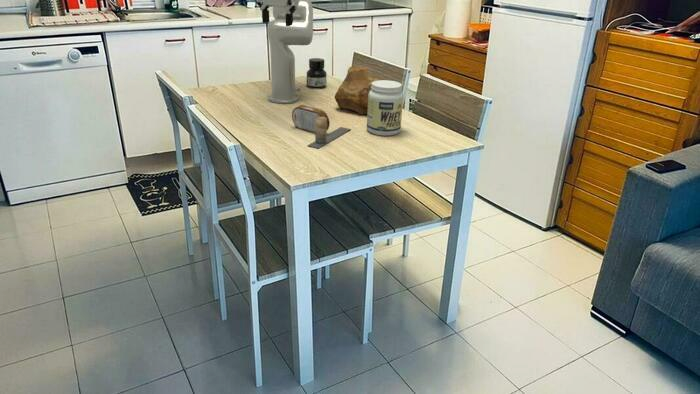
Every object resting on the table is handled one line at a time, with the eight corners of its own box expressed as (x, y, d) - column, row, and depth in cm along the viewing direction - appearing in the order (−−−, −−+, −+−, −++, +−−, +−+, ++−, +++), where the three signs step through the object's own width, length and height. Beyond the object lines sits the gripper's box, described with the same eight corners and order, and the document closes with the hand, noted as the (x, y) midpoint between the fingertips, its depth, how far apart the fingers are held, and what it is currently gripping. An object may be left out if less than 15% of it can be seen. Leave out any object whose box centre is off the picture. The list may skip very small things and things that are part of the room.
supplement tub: (377, 138, 181) (380, 89, 174) (360, 127, 191) (362, 81, 183) (407, 134, 186) (411, 86, 179) (389, 123, 196) (392, 78, 189)
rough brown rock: (325, 104, 218) (323, 68, 210) (361, 97, 224) (361, 62, 216) (349, 123, 200) (348, 84, 192) (388, 115, 205) (388, 77, 198)
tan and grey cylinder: (318, 139, 177) (319, 116, 174) (328, 141, 176) (328, 118, 172) (313, 142, 174) (313, 118, 171) (322, 144, 173) (323, 121, 169)
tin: (329, 134, 183) (330, 110, 180) (324, 136, 181) (324, 113, 177) (296, 125, 191) (296, 102, 187) (290, 127, 188) (290, 104, 185)
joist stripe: (340, 128, 189) (340, 127, 189) (350, 130, 188) (350, 129, 188) (307, 146, 172) (307, 145, 172) (318, 148, 170) (318, 147, 170)
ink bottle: (307, 89, 235) (307, 62, 230) (304, 84, 243) (304, 57, 237) (328, 88, 237) (329, 61, 232) (325, 83, 245) (325, 57, 239)
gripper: (304, -29, 175) (304, 25, 183) (261, -32, 182) (263, 20, 190) (291, -28, 169) (292, 28, 177) (248, -31, 176) (250, 22, 184)
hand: (277, 24), depth 183 cm, fingers open, 9 cm apart
